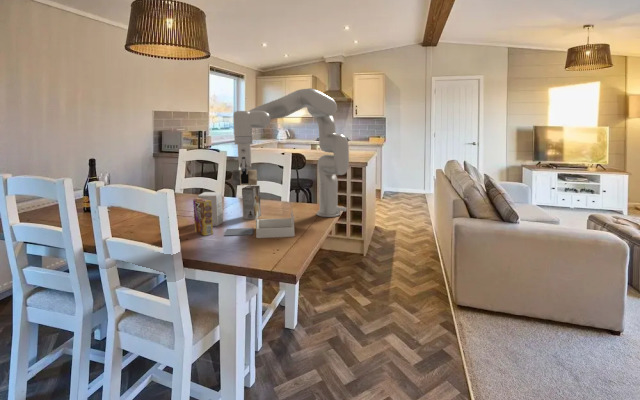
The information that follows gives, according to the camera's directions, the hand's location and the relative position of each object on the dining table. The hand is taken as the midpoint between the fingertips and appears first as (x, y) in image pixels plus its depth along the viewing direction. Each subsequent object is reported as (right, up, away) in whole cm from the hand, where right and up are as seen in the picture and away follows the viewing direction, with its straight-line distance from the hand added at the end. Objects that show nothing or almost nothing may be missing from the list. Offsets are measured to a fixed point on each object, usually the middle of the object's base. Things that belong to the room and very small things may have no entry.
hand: (245, 182), depth 168 cm
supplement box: (-20, -20, +19) cm, 34 cm away
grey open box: (+13, -22, +5) cm, 26 cm away
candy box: (-19, -23, +4) cm, 30 cm away
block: (0, -1, 0) cm, 1 cm away
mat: (-4, -22, +5) cm, 23 cm away
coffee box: (-3, -17, +31) cm, 36 cm away
